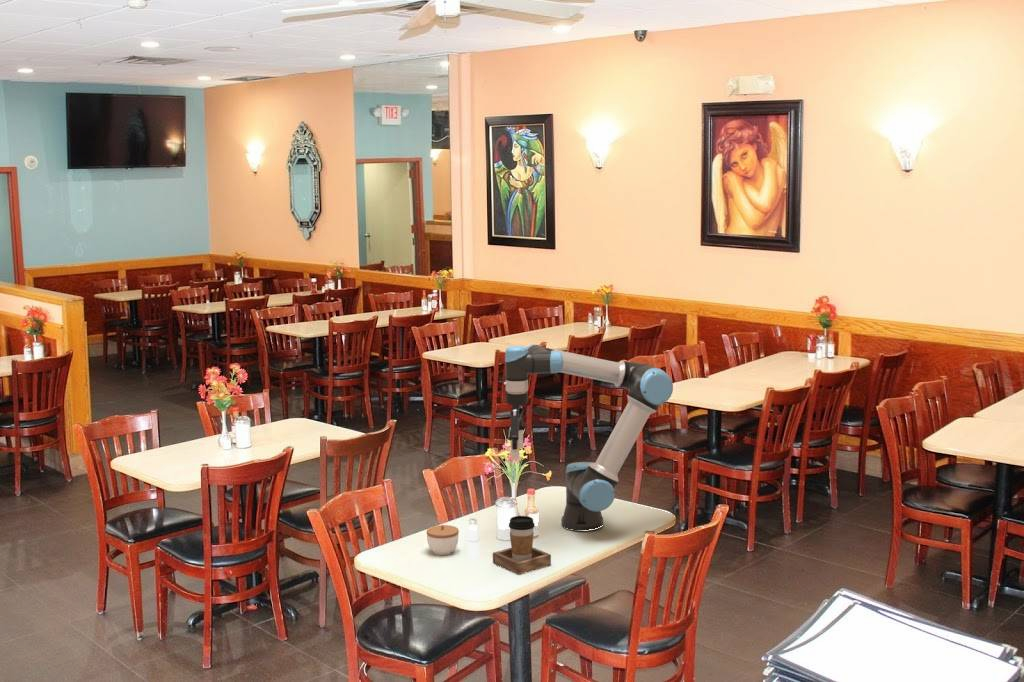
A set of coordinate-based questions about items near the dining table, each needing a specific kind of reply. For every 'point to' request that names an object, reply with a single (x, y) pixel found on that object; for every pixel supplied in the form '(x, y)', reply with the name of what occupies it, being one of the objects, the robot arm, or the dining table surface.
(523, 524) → the coffee cup
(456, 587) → the dining table surface
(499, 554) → the square brown tray
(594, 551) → the dining table surface
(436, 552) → the lidded jar
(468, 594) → the dining table surface
